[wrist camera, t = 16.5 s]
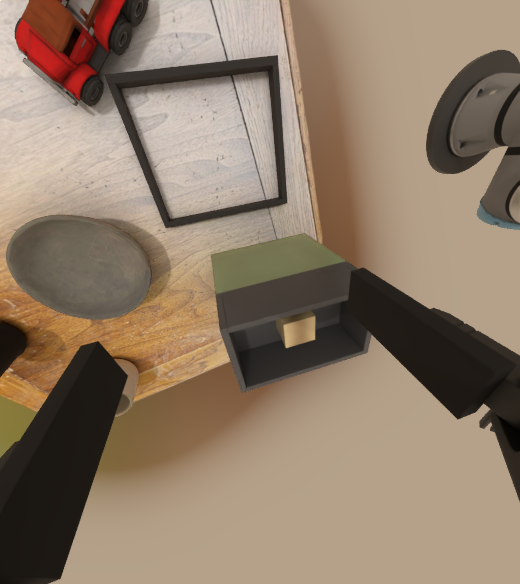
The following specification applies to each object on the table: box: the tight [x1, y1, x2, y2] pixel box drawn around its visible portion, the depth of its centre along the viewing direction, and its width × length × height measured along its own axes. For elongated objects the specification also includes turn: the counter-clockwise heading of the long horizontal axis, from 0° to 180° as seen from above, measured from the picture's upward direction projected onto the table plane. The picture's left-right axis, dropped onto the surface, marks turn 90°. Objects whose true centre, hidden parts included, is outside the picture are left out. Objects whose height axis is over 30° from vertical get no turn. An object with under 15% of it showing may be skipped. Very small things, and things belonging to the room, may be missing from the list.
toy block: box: [275, 310, 315, 348], centre depth 37 cm, size 6×6×6 cm
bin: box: [216, 261, 372, 393], centre depth 36 cm, size 24×15×9 cm, turn 98°
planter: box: [114, 359, 139, 417], centre depth 55 cm, size 12×12×11 cm
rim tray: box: [105, 55, 287, 228], centre depth 38 cm, size 26×22×2 cm
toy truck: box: [15, 0, 148, 106], centre depth 25 cm, size 8×18×8 cm, turn 136°
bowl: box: [6, 215, 152, 320], centre depth 41 cm, size 21×21×8 cm
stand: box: [211, 233, 346, 294], centre depth 47 cm, size 24×15×18 cm, turn 98°
